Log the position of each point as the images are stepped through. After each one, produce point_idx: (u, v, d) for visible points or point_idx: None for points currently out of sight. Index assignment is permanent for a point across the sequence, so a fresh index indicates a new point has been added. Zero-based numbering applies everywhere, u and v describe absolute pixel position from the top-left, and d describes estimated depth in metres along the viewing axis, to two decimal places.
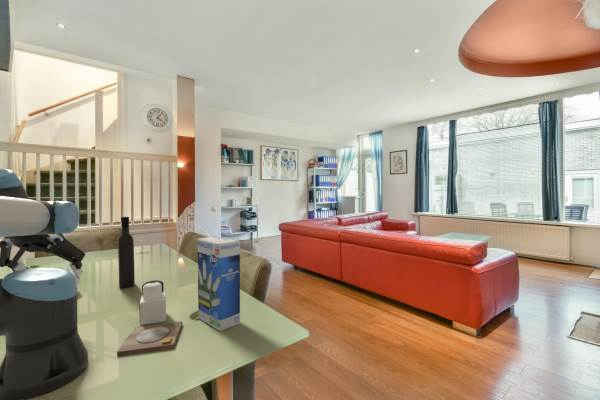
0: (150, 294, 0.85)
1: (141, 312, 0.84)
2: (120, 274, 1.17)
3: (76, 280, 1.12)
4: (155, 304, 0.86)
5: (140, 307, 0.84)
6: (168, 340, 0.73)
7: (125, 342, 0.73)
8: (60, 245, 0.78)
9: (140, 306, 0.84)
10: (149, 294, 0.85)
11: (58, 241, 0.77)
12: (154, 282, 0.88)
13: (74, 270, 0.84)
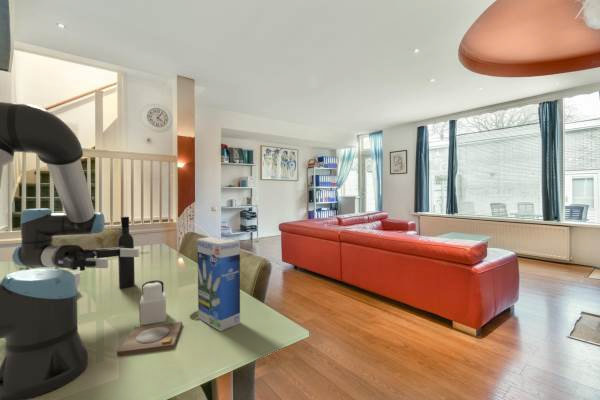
0: (150, 294, 0.85)
1: (141, 312, 0.84)
2: (120, 274, 1.17)
3: (76, 280, 1.12)
4: (155, 304, 0.86)
5: (140, 307, 0.84)
6: (168, 340, 0.73)
7: (125, 342, 0.73)
8: None
9: (140, 306, 0.84)
10: (149, 294, 0.85)
11: None
12: (154, 282, 0.88)
13: None
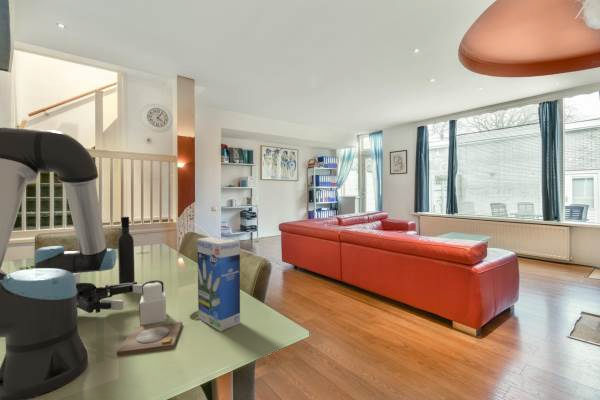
0: (150, 294, 0.85)
1: (141, 312, 0.84)
2: (120, 274, 1.17)
3: (76, 280, 1.12)
4: (155, 304, 0.85)
5: (140, 307, 0.84)
6: (168, 340, 0.73)
7: (125, 342, 0.73)
8: None
9: (140, 306, 0.84)
10: (149, 294, 0.85)
11: None
12: (154, 282, 0.88)
13: None
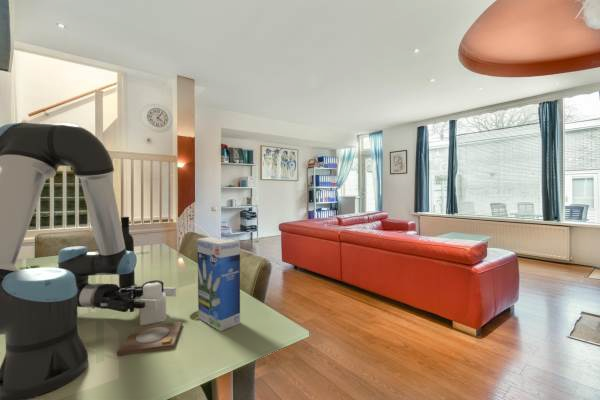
0: (150, 294, 0.85)
1: (141, 312, 0.84)
2: (120, 274, 1.17)
3: None
4: None
5: None
6: (168, 340, 0.73)
7: (125, 342, 0.73)
8: (137, 286, 0.96)
9: None
10: (149, 294, 0.85)
11: None
12: (154, 282, 0.88)
13: (164, 287, 0.93)
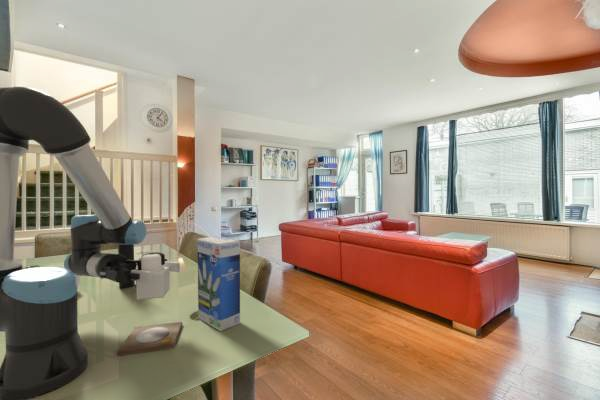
0: (148, 266, 0.77)
1: (137, 285, 0.76)
2: None
3: (76, 280, 1.12)
4: (152, 277, 0.77)
5: None
6: (168, 340, 0.73)
7: (125, 342, 0.73)
8: None
9: None
10: (146, 266, 0.77)
11: None
12: (154, 253, 0.80)
13: (169, 262, 0.85)
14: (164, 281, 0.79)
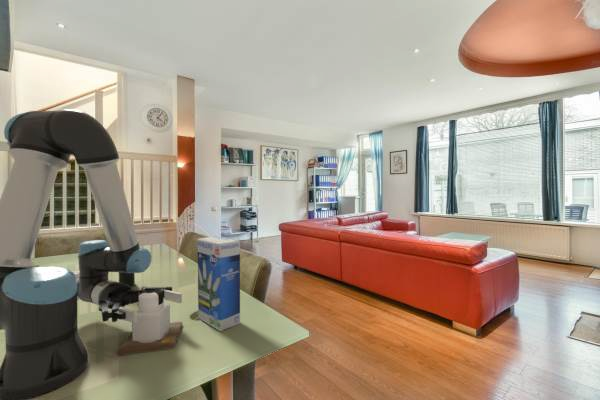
0: (144, 306, 0.73)
1: (133, 326, 0.73)
2: (120, 274, 1.17)
3: (76, 280, 1.12)
4: (148, 319, 0.73)
5: None
6: (168, 340, 0.73)
7: (125, 342, 0.73)
8: (148, 287, 0.87)
9: None
10: (143, 306, 0.73)
11: (145, 286, 0.88)
12: (152, 292, 0.76)
13: (172, 291, 0.83)
14: (161, 322, 0.74)
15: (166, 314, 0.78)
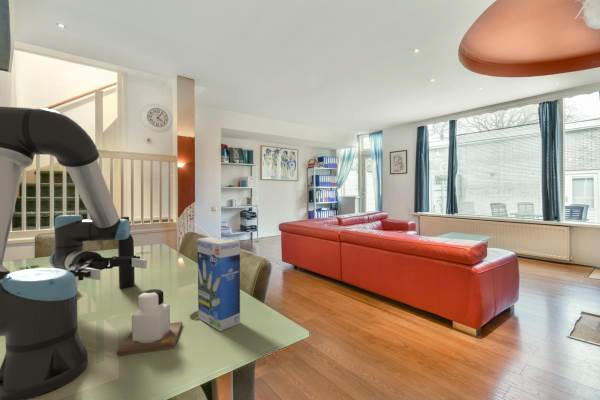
0: (144, 306, 0.73)
1: (133, 326, 0.73)
2: (120, 274, 1.17)
3: (76, 280, 1.12)
4: (148, 319, 0.73)
5: (132, 320, 0.73)
6: (168, 340, 0.73)
7: (125, 342, 0.73)
8: (118, 257, 0.94)
9: (132, 319, 0.73)
10: (143, 306, 0.73)
11: (115, 256, 0.95)
12: (152, 292, 0.76)
13: (138, 258, 0.90)
14: (161, 322, 0.74)
15: (166, 314, 0.78)
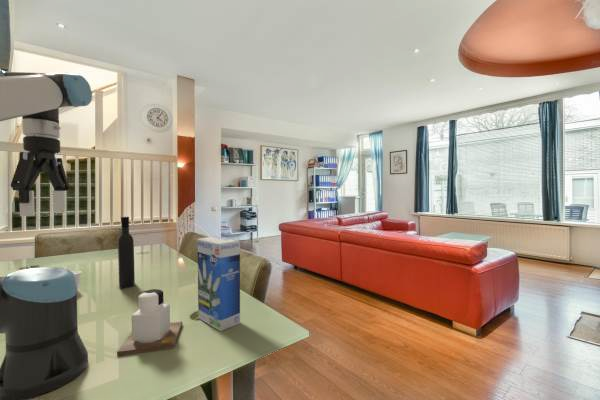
0: (144, 306, 0.73)
1: (133, 326, 0.73)
2: (120, 274, 1.17)
3: (76, 280, 1.12)
4: (148, 319, 0.73)
5: (132, 320, 0.73)
6: (168, 340, 0.73)
7: (125, 342, 0.73)
8: None
9: (132, 319, 0.73)
10: (143, 306, 0.73)
11: None
12: (152, 292, 0.76)
13: None
14: (161, 322, 0.74)
15: (166, 314, 0.78)
